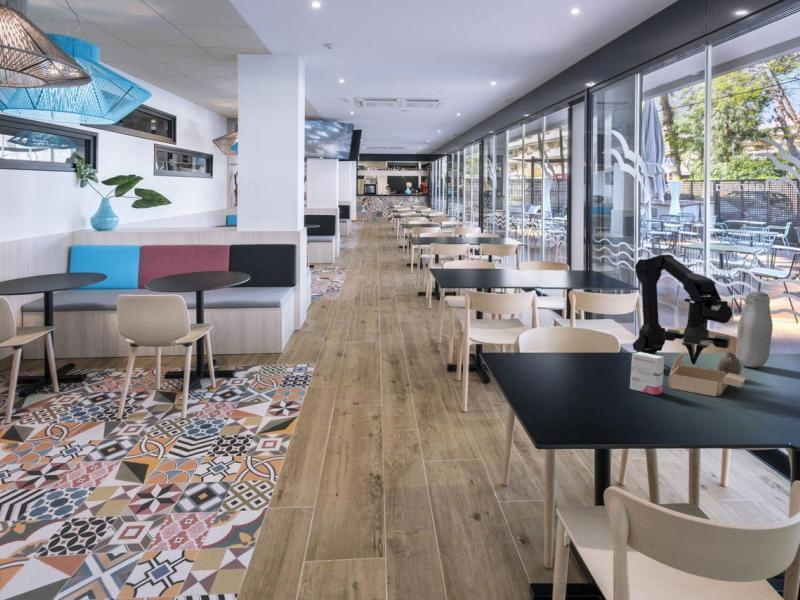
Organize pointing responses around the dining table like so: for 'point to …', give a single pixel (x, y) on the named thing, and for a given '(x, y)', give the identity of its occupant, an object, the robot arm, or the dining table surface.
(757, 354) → the grey bottle
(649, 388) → the ink box
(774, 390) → the dining table surface
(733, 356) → the vase
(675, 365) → the flap left
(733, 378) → the flap right
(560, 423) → the dining table surface
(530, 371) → the dining table surface
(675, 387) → the carton
